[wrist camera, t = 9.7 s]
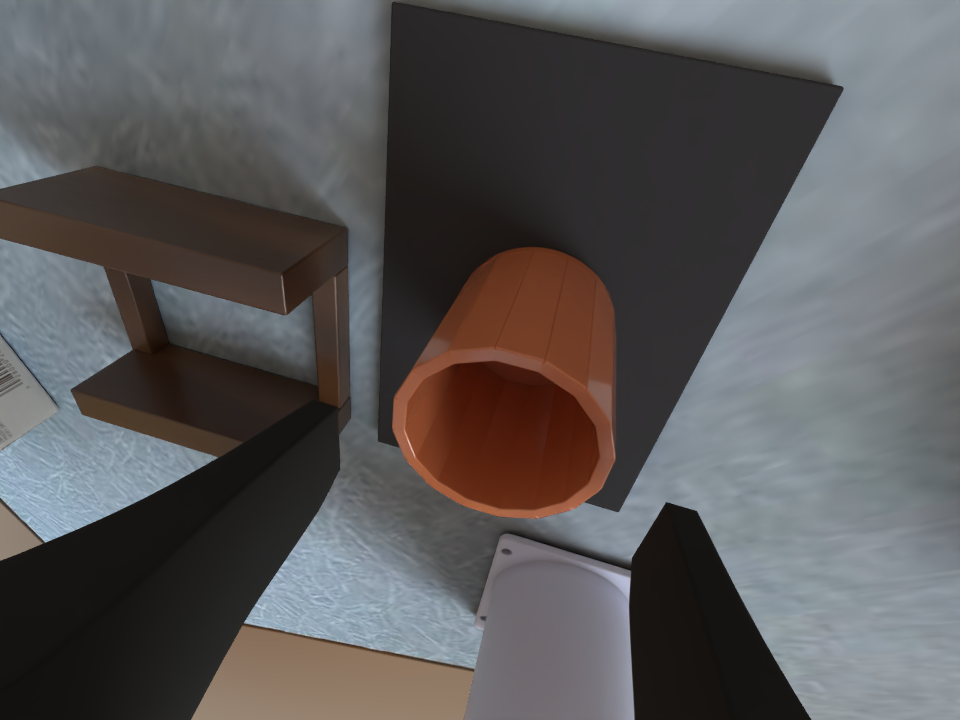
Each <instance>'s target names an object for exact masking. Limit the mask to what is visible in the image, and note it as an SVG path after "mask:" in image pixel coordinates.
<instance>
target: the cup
mask: <svg viewBox="0 0 960 720" xmlns="http://www.w3.org/2000/svg"><path fill="white" fill-rule="evenodd" d="M392 428H393V432H394V435H395V437H396V439H397V442H398V444H399V446H400V449H401V451H402V453H403V456H404V458H405V459H406V461H407V462H408V463H409V464H410V465H411V466H412V467H413V468H414V470H415V471H416V472H417V473H418V474H419V475H420V476H421V477H422V478H423V479H424V480H425V481H426V482H427V483H428V485H430V486H431V487H432V488H434V489H436V490H437V491H439V492H441V493H442V494H444V495H446V496H447V497H449V498H451V499H452V500H454V501H456V502H457V503H459V504H461V505H463V506H465V507H469V508H472V509H475V510H478V511H482V512H485V513H488V514H492V515H495V516H498V517H499V516H500V517H512V518H535V519H537V518H543V517H547V516H551V515H554V514H558V513H562V512H566V511H570V510H573V509H575V508H577V507H578V506H579V505H581V504H582V503H583V502H585V501H586V500H588V499H589V498H590V497H592V496H593V495H594V494H596V493H597V492H599V491H600V490H601V489H602V487H603V485H604V483H605V481H606V479H607V477H608V474H609V472H610V470H611V468H612V466H613V464H614V462H615V458H616V327H615V312H614V306H613V303H612V300H611V297H610V295H609V293H608V291H607V289H606V287H605V285H604V284H603V282H602V281H601V280H600V278H599V277H598V276H597V275H596V274H595V273H594V272H593V271H592V270H591V269H590V268H589V267H587V266H586V265H585V264H584V263H582V262H581V261H579V260H577V259H576V258H574V257H572V256H570V255H568V254H565V253H563V252H560V251H556V250H553V249H548V248H542V247H523V248H516V249H511V250H507V251H504V252H502V253H499V254H497V255H495V256H493V257H491V258H489V259H488V260H486V261H485V262H484V263H482V264H481V265H480V266H479V267H478V268H477V269H476V270H475V271H474V272H473V273H472V274H471V275H470V277H469V278H468V280H467V281H466V283H465V285H464V286H463V288H462V289H461V291H460V292H459V294H458V295H457V297H456V298H455V300H454V301H453V303H452V305H451V306H450V308H449V309H448V311H447V313H446V314H445V316H444V317H443V319H442V321H441V322H440V324H439V325H438V327H437V328H436V330H435V332H434V333H433V335H432V336H431V338H430V340H429V341H428V343H427V344H426V346H425V348H424V349H423V351H422V352H421V354H420V356H419V357H418V359H417V360H416V362H415V364H414V365H413V367H412V368H411V370H410V371H409V373H408V375H407V376H406V378H405V379H404V381H403V383H402V384H401V386H400V387H399V389H398V391H397V392H396V394H395V396H394V403H393V421H392Z"/></svg>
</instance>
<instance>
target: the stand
mask: <svg viewBox="0 0 960 720" xmlns="http://www.w3.org/2000/svg"><path fill="white" fill-rule="evenodd" d="M0 238H1V239H5V240H8V241H12V242H16V243H19V244H23V245H27V246H30V247H34V248H38V249H42V250H45V251H49V252H53V253H56V254H60V255H64V256H67V257H71V258H75V259H78V260H82V261H86V262H90V263H93V264H97V265H101V266H104V269H105V272H106V274H107V277H108V280H109V283H110V286H111V289H112V292H113V294H114V297H115V300H116V303H117V306H118V309H119V311H120V314H121V317H122V320H123V323H124V326H125V329H126V331H127V334H128V337H129V340H130V343H131V346H132V348H133V350H132V351H130V352H129V353H127V354H126V355H124V356H122V357H121V358H119V359H118V360H116V361H115V362H113V363H112V364H110V365H108V366H107V367H105V368H104V369H102V370H101V371H99V372H97V373H96V374H94V375H93V376H91V377H90V378H88V379H87V380H85V381H83V382H82V383H80V384H79V385H77V386H76V387H74V388H72V389H71V392H72V394H73V397H74V399H75V401H76V403H77V405H78V407H79V409H80V411H81V413H82V415H85V416H88V417H91V418H94V419H97V420H101V421H104V422H107V423H110V424H114V425H117V426H120V427H123V428H126V429H130V430H133V431H136V432H139V433H143V434H146V435H149V436H152V437H155V438H159V439H162V440H165V441H168V442H171V443H175V444H178V445H181V446H184V447H188V448H191V449H194V450H197V451H200V452H204V453H207V454H210V455H213V456H217V457H220V456H222V455H224V454H225V453H227V452H229V451H230V450H232V449H234V448H235V447H237V446H239V445H240V444H242V443H244V442H245V441H247V440H249V439H250V438H252V437H253V436H255V435H257V434H258V433H260V432H261V431H263V430H265V429H266V428H268V427H269V426H271V425H272V424H274V423H276V422H277V421H279V420H280V419H282V418H283V417H285V416H287V415H288V414H290V413H291V412H293V411H294V410H296V409H298V408H299V407H301V406H302V405H304V404H306V403H307V402H309V401H311V400H316V401H320V402H323V403H326V404H330V405H333V406H337V407H338V422H339V434H340V433H341V431H342V430H343V428H344V427H345V426H346V424H347V423H348V421H349V420H350V418H351V404H350V353H349V294H348V266H347V265H348V229H347V228H345V227H341V226H337V225H333V224H329V223H325V222H321V221H317V220H313V219H309V218H304V217H300V216H296V215H292V214H288V213H284V212H280V211H276V210H272V209H268V208H264V207H260V206H256V205H252V204H247V203H243V202H239V201H235V200H231V199H227V198H223V197H219V196H215V195H211V194H207V193H203V192H199V191H195V190H190V189H186V188H182V187H178V186H174V185H170V184H166V183H162V182H158V181H154V180H150V179H146V178H142V177H137V176H133V175H129V174H125V173H121V172H117V171H113V170H109V169H105V168H101V167H97V166H93V167H89V168H85V169H81V170H77V171H73V172H69V173H64V174H60V175H56V176H52V177H48V178H44V179H40V180H35V181H31V182H27V183H23V184H19V185H15V186H11V187H7V188H2V189H0ZM150 279H152V280H156V281H160V282H163V283H167V284H171V285H174V286H178V287H182V288H186V289H189V290H193V291H197V292H200V293H204V294H208V295H211V296H215V297H219V298H223V299H226V300H230V301H234V302H237V303H241V304H245V305H248V306H252V307H256V308H259V309H263V310H267V311H271V312H274V313H278V314H282V315H288V314H289V313H290V312H291V311H292V310H294V309H295V308H296V307H297V306H299V305H300V304H301V303H302V302H303V301H305V300H306V299H307V298H308V297H309V296H311V295H312V302H313V316H314V331H315V345H316V360H317V375H318V387H317V386H314V385H310V384H307V383H303V382H300V381H296V380H293V379H289V378H286V377H282V376H279V375H275V374H272V373H268V372H265V371H261V370H258V369H254V368H251V367H247V366H244V365H240V364H237V363H233V362H230V361H226V360H223V359H219V358H216V357H212V356H209V355H205V354H202V353H198V352H195V351H191V350H188V349H184V348H181V347H177V346H174V345H170V344H168V340H167V336H166V333H165V329H164V326H163V323H162V319H161V316H160V312H159V309H158V306H157V302H156V299H155V295H154V292H153V288H152V285H151V282H150Z"/></svg>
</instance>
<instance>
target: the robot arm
mask: <svg viewBox="0 0 960 720" xmlns="http://www.w3.org/2000/svg"><path fill="white" fill-rule="evenodd" d="M339 470H340V450H339V422H338V407H337V406H333V405H330V404H326V403H323V402H320V401H316V400H311V401H309V402H307V403H306V404H304V405H302V406H301V407H299V408H298V409H296V410H294V411H293V412H291V413H290V414H288V415H287V416H285V417H283V418H282V419H280V420H279V421H277V422H276V423H274V424H272V425H271V426H269V427H268V428H266V429H265V430H263V431H261V432H260V433H258V434H257V435H255V436H253V437H252V438H250V439H249V440H247V441H245V442H244V443H242V444H240V445H239V446H237V447H235V448H234V449H232V450H230V451H229V452H227V453H225V454H224V455H222V456H220V457H219V458H217V459H215V460H214V461H212V462H210V463H209V464H207V465H205V466H203V467H201V468H200V469H198V470H196V471H194V472H192V473H191V474H189V475H187V476H185V477H183V478H182V479H180V480H178V481H176V482H174V483H172V484H171V485H169V486H167V487H165V488H163V489H161V490H159V491H157V492H156V493H154V494H152V495H150V496H148V497H146V498H144V499H142V500H140V501H138V502H136V503H134V504H132V505H130V506H128V507H125V508H123V509H121V510H119V511H117V512H115V513H113V514H111V515H109V516H107V517H104V518H102V519H100V520H98V521H96V522H93V523H91V524H89V525H86V526H84V527H82V528H80V529H77V530H75V531H72V532H70V533H68V534H65V535H63V536H61V537H58V538H56V539H53V540H51V541H49V542H46V543H44V544H41V545H39V546H37V547H34V548H32V549H29V550H27V551H25V552H22V553H20V554H17V555H15V556H12V557H9V558H7V559H4V560H1V561H0V720H191V719H192V717H193V715H194V713H195V711H196V709H197V707H198V705H199V704H200V702H201V700H202V698H203V696H204V694H205V692H206V690H207V688H208V687H209V685H210V683H211V681H212V679H213V677H214V675H215V674H216V672H217V670H218V668H219V666H220V664H221V663H222V661H223V659H224V657H225V655H226V654H227V652H228V650H229V648H230V646H231V645H232V643H233V641H234V639H235V638H236V636H237V634H238V632H239V630H240V629H241V627H242V625H243V623H244V622H245V620H246V618H247V617H248V615H249V614H250V612H251V610H252V609H253V607H254V606H255V604H256V602H257V601H258V599H259V598H260V596H261V595H262V593H263V592H264V591H265V589H266V588H267V586H268V585H269V583H270V582H271V580H272V579H273V577H274V576H275V574H276V573H277V571H278V570H279V568H280V567H281V566H282V564H283V563H284V561H285V560H286V558H287V557H288V555H289V554H290V552H291V551H292V549H293V548H294V546H295V545H296V544H297V542H298V541H299V539H300V538H301V536H302V535H303V533H304V532H305V530H306V529H307V527H308V526H309V524H310V523H311V521H312V520H313V518H314V517H315V515H316V514H317V512H318V511H319V509H320V507H321V505H322V503H323V501H324V500H325V498H326V496H327V494H328V492H329V490H330V488H331V486H332V484H333V482H334V480H335V478H336V476H337V474H338V472H339ZM474 625H475V626H476V628H478V629H480V630H482V631H483V636H482V640H481V645H480V649H479V653H478V658H477V662H476V667H475V671H474V675H473V680H472V684H471V689H470V693H469V698H468V702H467V706H466V711H465V715H464V720H811V718H810V717H809V715H808V714H807V712H806V710H805V709H804V707H803V706H802V704H801V702H800V701H799V699H798V697H797V696H796V694H795V693H794V691H793V689H792V688H791V686H790V684H789V682H788V681H787V679H786V677H785V676H784V674H783V672H782V671H781V669H780V667H779V666H778V664H777V662H776V661H775V659H774V657H773V655H772V654H771V652H770V650H769V648H768V647H767V645H766V643H765V641H764V640H763V638H762V636H761V634H760V632H759V630H758V629H757V627H756V625H755V623H754V621H753V619H752V618H751V616H750V614H749V612H748V610H747V608H746V607H745V605H744V603H743V601H742V599H741V597H740V595H739V593H738V592H737V590H736V588H735V586H734V584H733V582H732V580H731V578H730V576H729V574H728V572H727V570H726V568H725V566H724V564H723V562H722V560H721V558H720V556H719V554H718V552H717V550H716V548H715V546H714V544H713V542H712V540H711V538H710V536H709V534H708V532H707V530H706V528H705V526H704V524H703V522H702V520H701V518H700V516H699V514H698V513H697V511H695V510H691V509H688V508H684V507H681V506H678V505H674V504H671V503H667V502H666V504H665V505H664V507H663V508H662V510H661V512H660V513H659V515H658V517H657V518H656V520H655V521H654V523H653V525H652V526H651V528H650V530H649V531H648V533H647V535H646V536H645V538H644V539H643V541H642V543H641V544H640V546H639V548H638V549H637V551H636V552H635V554H634V556H633V557H632V565H631V571H630V570H627V569H623V568H620V567H617V566H614V565H610V564H607V563H604V562H601V561H597V560H594V559H591V558H588V557H584V556H581V555H578V554H575V553H571V552H568V551H565V550H562V549H558V548H555V547H552V546H549V545H545V544H542V543H539V542H536V541H532V540H529V539H526V538H523V537H519V536H516V535H513V534H503V535H501V536H500V539H499V542H498V545H497V549H496V552H495V555H494V559H493V562H492V565H491V568H490V572H489V575H488V578H487V582H486V585H485V588H484V592H483V595H482V598H481V601H480V605H479V608H478V611H477V615H476V618H475V622H474Z"/></svg>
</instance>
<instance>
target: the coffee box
mask: <svg viewBox="0 0 960 720" xmlns="http://www.w3.org/2000/svg"><path fill="white" fill-rule="evenodd" d="M58 411H59V409H58V406H57V405H56V404H55V403H54V401H53V400H52V399H51V398H50V396H49V395H48V394H47V393H46V392H45V390H44V389H43V388H42V386H41V385H40V384H39V383H38V381H37V380H36V379H35V378H34V376H33V375H32V374H31V373H30V372H29V370H28V369H27V368H26V367H25V365H24V364H23V363H22V361H21V360H20V359H19V358H18V356H17V355H16V354H15V353H14V351H13V350H12V349H11V348H10V346H9V345H8V344H7V343H6V341H5V340H4V339H3V338H2V336H1V335H0V451H1V450H3V449H4V448H6V447H7V446H9V445H10V444H11V443H13V442H14V441H16V440H17V439H19V438H20V437H22V436H23V435H25V434H26V433H28V432H29V431H30V430H32V429H33V428H35V427H37V426H38V425H39V424H41V423H42V422H44V421H45V420H47V419H48V418H50V417H51V416H53V415H54V414H56V413H57V412H58Z"/></svg>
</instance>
